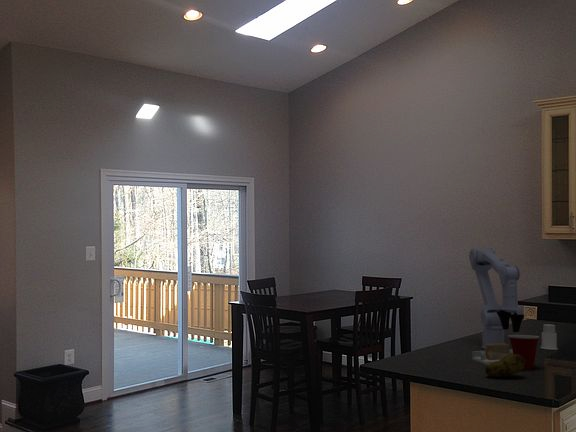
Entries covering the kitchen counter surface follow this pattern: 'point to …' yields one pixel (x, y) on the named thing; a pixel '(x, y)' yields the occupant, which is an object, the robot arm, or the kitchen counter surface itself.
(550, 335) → the white threaded pipe fitting
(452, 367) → the kitchen counter surface
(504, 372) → the potato
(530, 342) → the plastic cup
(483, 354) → the board
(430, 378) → the kitchen counter surface
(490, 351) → the brown tapered block
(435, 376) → the kitchen counter surface
